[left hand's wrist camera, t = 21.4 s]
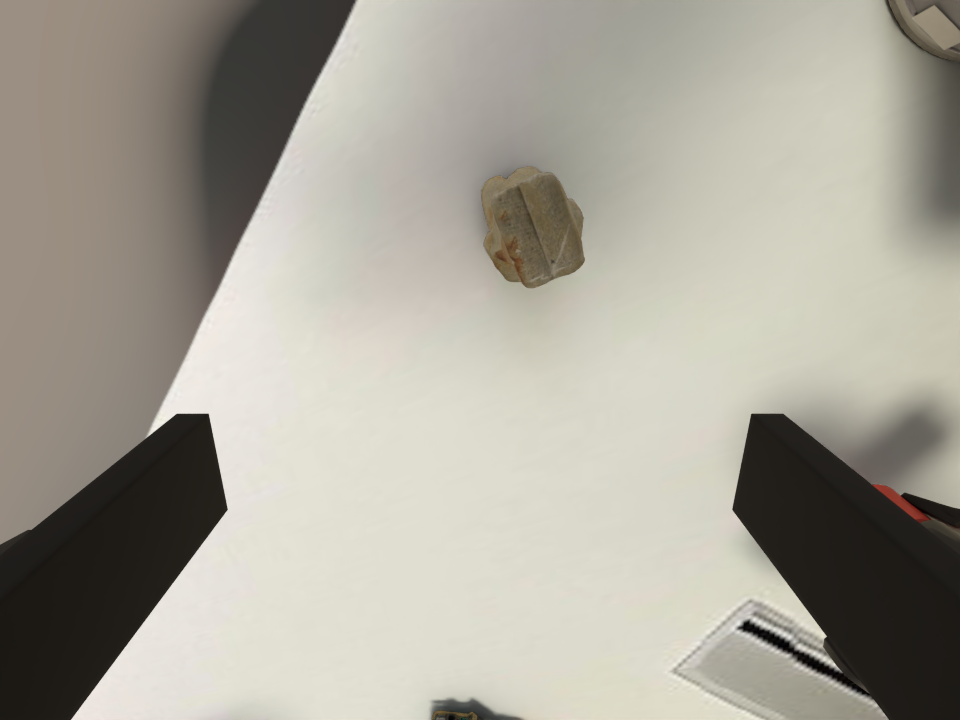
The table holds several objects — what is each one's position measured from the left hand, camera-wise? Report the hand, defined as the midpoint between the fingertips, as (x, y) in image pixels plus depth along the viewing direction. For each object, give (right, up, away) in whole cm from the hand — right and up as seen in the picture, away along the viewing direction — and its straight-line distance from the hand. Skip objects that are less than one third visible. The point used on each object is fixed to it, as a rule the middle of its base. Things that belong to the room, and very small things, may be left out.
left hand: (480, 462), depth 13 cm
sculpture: (+3, +13, +25) cm, 29 cm away
